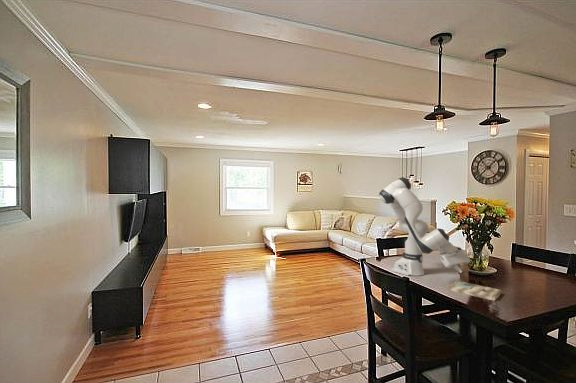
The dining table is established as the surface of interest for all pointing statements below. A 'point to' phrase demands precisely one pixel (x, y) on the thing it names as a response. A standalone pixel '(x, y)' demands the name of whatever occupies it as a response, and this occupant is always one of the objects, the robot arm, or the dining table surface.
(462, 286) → the felt pad
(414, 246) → the robot arm
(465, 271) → the wooden cylinder
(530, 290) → the dining table surface
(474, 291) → the puzzle board
